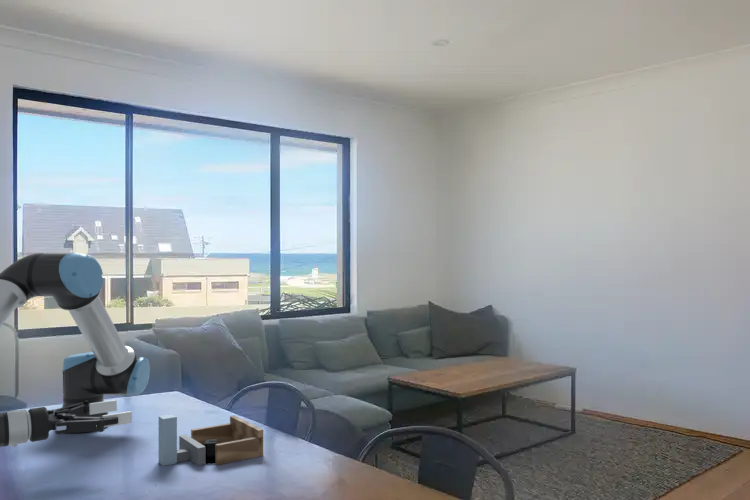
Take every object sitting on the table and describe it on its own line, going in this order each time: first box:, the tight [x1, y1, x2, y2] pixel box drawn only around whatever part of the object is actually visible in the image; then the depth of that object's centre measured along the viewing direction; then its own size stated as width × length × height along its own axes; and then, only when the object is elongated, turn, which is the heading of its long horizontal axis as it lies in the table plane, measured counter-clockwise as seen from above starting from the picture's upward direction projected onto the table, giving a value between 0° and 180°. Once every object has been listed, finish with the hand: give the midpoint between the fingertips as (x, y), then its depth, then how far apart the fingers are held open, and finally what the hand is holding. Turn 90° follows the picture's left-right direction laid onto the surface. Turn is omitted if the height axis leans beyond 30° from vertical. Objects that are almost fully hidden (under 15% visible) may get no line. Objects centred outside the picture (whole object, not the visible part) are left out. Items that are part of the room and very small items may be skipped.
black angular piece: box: [205, 439, 217, 465], centre depth 174 cm, size 13×8×5 cm, turn 11°
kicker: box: [158, 413, 207, 467], centre depth 172 cm, size 14×9×12 cm, turn 36°
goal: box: [190, 415, 264, 466], centre depth 179 cm, size 19×13×7 cm
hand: (123, 410), depth 163 cm, fingers open, 13 cm apart
